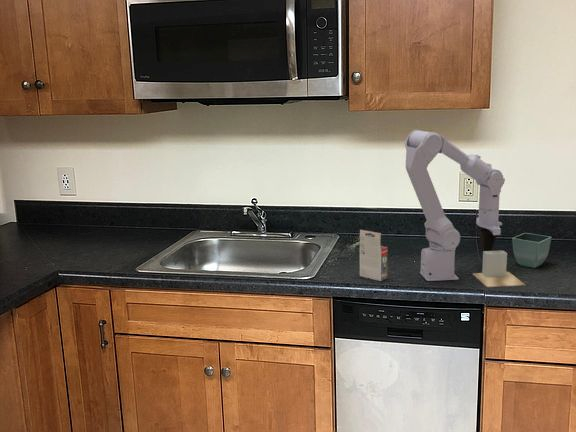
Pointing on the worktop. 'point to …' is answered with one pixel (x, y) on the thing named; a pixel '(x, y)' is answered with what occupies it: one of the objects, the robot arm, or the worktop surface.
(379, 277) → the ink box
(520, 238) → the flower pot
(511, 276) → the board
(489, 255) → the slab
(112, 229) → the worktop surface
